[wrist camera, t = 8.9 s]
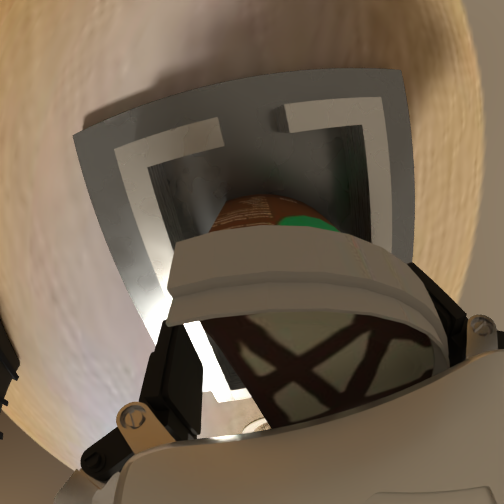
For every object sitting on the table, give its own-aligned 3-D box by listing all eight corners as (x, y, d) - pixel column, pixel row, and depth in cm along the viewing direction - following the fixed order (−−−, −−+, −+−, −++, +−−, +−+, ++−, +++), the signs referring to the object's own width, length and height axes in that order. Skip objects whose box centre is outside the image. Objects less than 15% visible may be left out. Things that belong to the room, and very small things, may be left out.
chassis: (81, 134, 12) (46, 139, 9) (391, 72, 12) (427, 64, 9) (186, 384, 21) (183, 418, 18) (394, 336, 20) (412, 364, 17)
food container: (372, 318, 17) (431, 441, 8) (288, 346, 18) (310, 484, 9) (333, 132, 12) (495, 177, 3) (214, 173, 13) (147, 299, 4)
